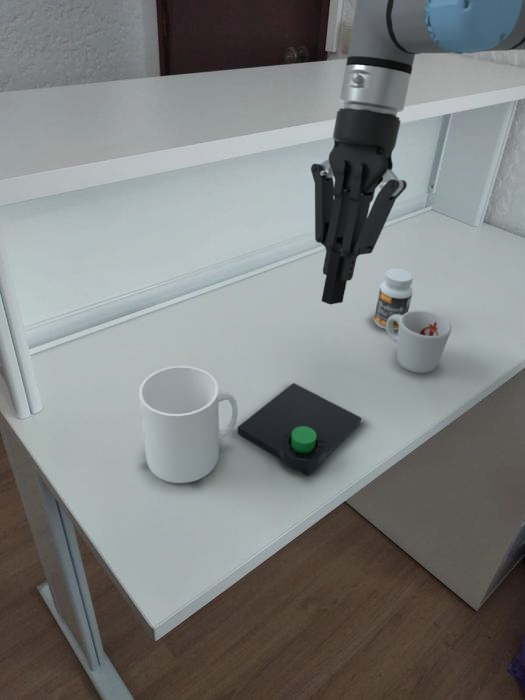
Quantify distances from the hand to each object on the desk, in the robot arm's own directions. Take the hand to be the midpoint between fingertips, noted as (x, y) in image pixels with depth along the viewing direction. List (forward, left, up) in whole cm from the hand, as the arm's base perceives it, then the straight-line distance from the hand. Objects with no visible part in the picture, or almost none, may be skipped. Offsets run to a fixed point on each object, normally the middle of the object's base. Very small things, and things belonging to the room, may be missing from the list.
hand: (331, 301), depth 76 cm
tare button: (-5, +11, -15) cm, 19 cm away
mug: (+7, +20, -17) cm, 28 cm away
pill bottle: (+3, -27, -17) cm, 32 cm away
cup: (-5, -19, -17) cm, 26 cm away
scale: (-1, +7, -17) cm, 19 cm away
